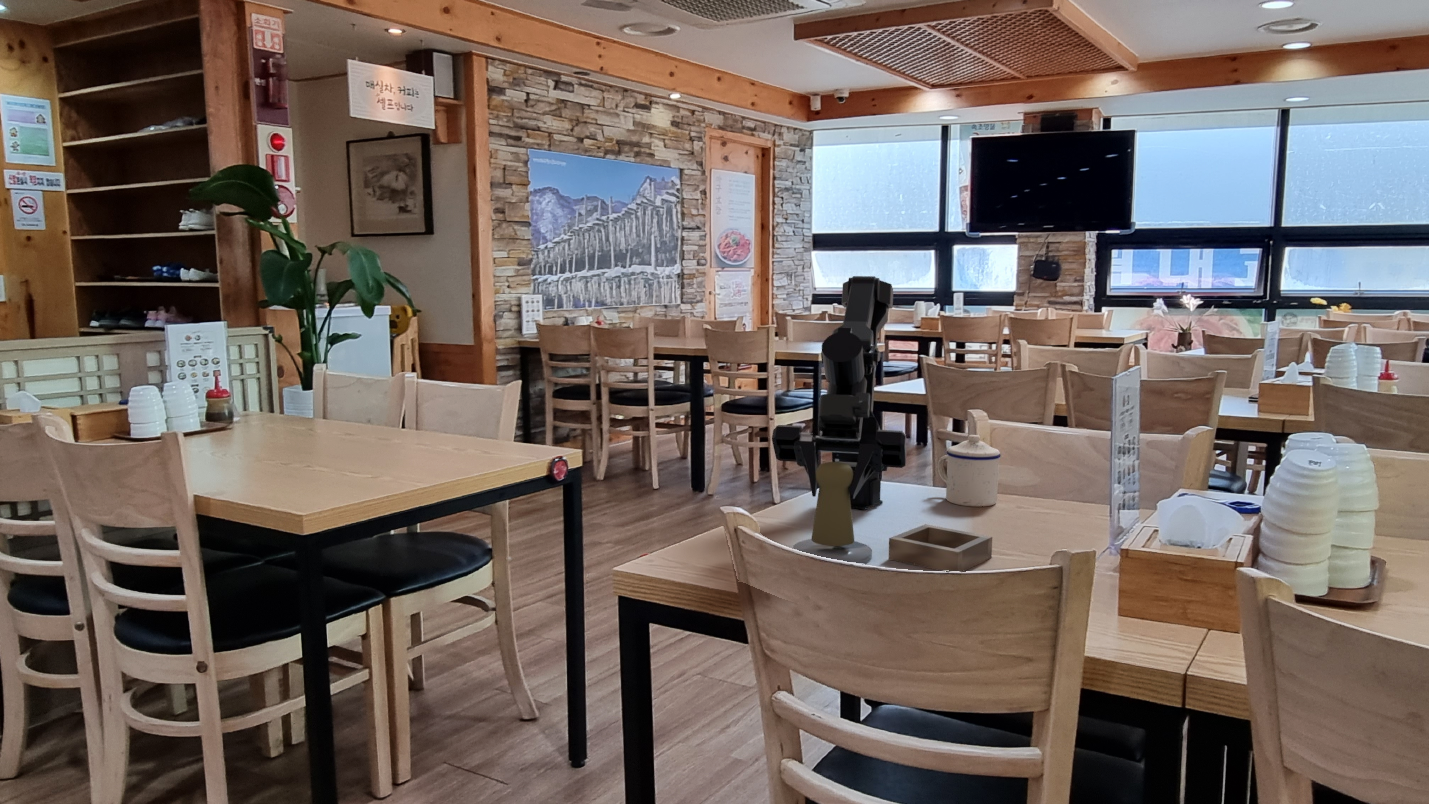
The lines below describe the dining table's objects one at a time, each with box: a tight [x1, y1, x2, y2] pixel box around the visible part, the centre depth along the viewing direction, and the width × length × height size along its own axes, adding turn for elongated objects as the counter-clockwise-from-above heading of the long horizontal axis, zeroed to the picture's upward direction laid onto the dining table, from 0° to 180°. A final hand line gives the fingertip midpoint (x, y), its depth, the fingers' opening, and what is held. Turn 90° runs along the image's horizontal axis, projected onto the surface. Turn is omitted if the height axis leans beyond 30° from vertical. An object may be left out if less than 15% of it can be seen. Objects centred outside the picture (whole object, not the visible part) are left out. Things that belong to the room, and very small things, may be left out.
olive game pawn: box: [810, 461, 855, 546], centre depth 140 cm, size 6×6×11 cm
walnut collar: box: [888, 523, 993, 572], centre depth 140 cm, size 10×10×3 cm
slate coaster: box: [792, 538, 873, 564], centre depth 141 cm, size 11×11×1 cm
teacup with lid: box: [937, 434, 1002, 508], centre depth 176 cm, size 12×9×12 cm
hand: (832, 496), depth 139 cm, fingers closed on olive game pawn, 5 cm apart
